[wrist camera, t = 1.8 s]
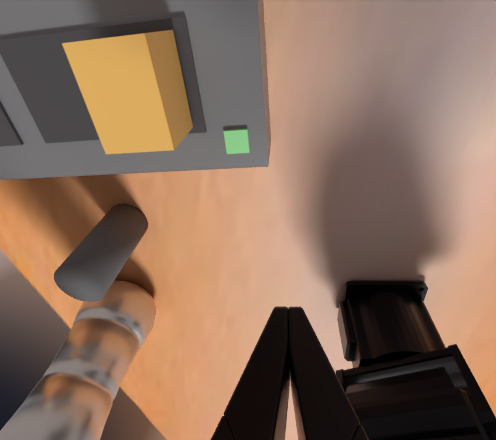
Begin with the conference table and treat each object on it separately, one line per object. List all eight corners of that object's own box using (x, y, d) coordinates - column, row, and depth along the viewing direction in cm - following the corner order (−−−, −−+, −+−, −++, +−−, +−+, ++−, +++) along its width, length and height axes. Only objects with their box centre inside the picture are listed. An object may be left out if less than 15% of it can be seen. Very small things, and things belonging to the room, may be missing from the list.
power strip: (260, -46, 14) (252, -67, 10) (271, 140, 19) (268, 168, 15) (-128, 13, 17) (-233, 12, 13) (-30, 158, 22) (-87, 185, 19)
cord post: (140, 203, 23) (93, 266, 17) (152, 235, 25) (112, 302, 19) (103, 204, 23) (44, 266, 17) (117, 236, 25) (68, 301, 19)
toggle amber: (173, 29, 12) (144, 33, 9) (193, 126, 14) (174, 150, 12) (105, 37, 12) (61, 43, 10) (135, 131, 15) (105, 154, 12)
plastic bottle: (88, 268, 28) (-189, 628, 11) (157, 273, 27) (-33, 658, 11) (107, 311, 31) (-82, 629, 15) (168, 317, 31) (39, 652, 15)
